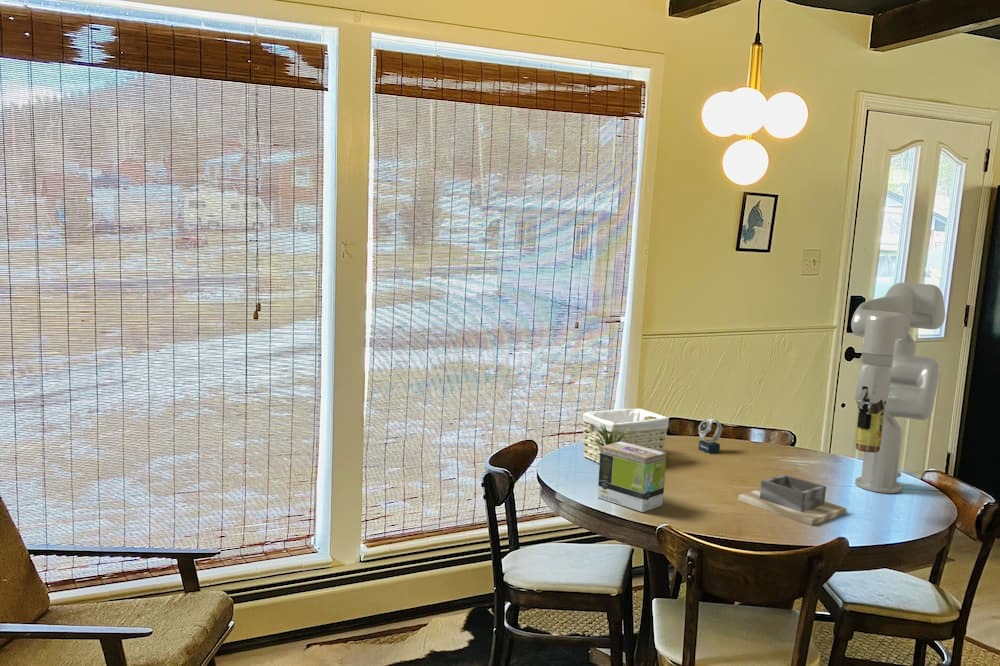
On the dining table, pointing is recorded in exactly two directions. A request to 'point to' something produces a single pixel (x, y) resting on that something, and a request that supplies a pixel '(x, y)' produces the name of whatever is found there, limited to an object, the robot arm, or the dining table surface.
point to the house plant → (610, 439)
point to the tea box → (632, 476)
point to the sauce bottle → (871, 430)
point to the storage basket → (624, 429)
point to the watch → (711, 445)
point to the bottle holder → (793, 499)
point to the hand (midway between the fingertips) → (869, 426)
